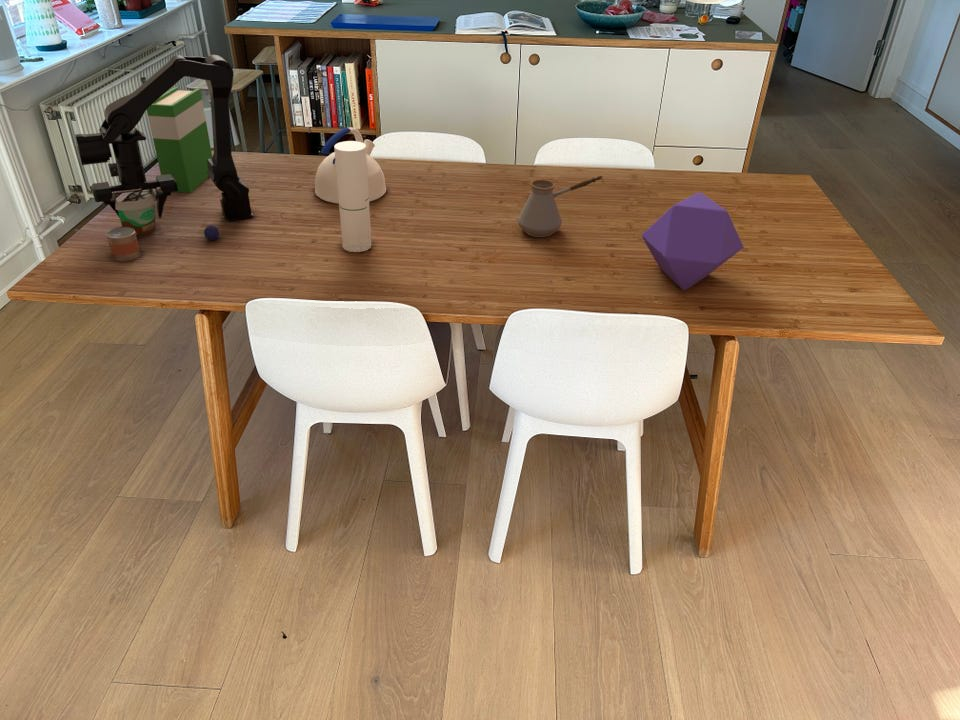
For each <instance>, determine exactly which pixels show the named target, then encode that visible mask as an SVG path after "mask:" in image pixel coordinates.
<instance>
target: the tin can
mask: <svg viewBox="0 0 960 720" xmlns="http://www.w3.org/2000/svg"><path fill="white" fill-rule="evenodd" d="M106 238H107V242H108V246H109V249H110V252H111V255H112V258H113V260H114V261H116V262H129V261H133V260H136V259H138V258H139V257H140V256H141V250H140V246H139V240H138V237H136V234H135V230H134V229H133V228H129V227H122V226H121V227H116V228H112V229H110V230H108V231H107V233H106Z"/></svg>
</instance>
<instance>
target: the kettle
mask: <svg viewBox="0 0 960 720" xmlns="http://www.w3.org/2000/svg"><path fill="white" fill-rule="evenodd" d="M349 133H352V134H353V136H354V139H355V141H357V142H362V143H364V144H365V145H366V157H367V174H368V192H369V203H370V202H373V201H376V200H378V199H380V198H382V197H383V196H384V195H385V193H386V192H387V187H386V180H385V179H386V178H385V174H384V172H383V170H382V167H381V166H380V164H379V163H378V162H377V161H376V160H375V158H373V157H372V156H371V154H372V151H373V150H374V148H375V147H376V145H375V143H374V142H373V141H372V140H370V139H368V138H367V139H364V138H363V136H362V134H361V132H360V131H359V130H358V129H357V128H354V127H343V128H342V129H340V130H339V131H337V132H336V133H334V134H333V135H332V136H331V137H329V139H328V140H327V141H326V142H325V144H324V145H323V147H322V148H321V151H320V154H321V155H328V154H329V155H328V156H327V157H325V158H324V159H323V160H322V161H321V163H320V164H319V166H318V167H317V170H316V173H315V177H314V193H315V195H316V196H317V197H318V198H319V199H320V200H323V201H325V202H327V203H331V204H336V205H339V198H338V186H337V174H336V161H335V151H334V152H331V153H329V152H330V150H331V149H332V148H333V146H335V144H336V143H337V142H338V141H339V140H340V139H341V138H342V137H344V136H345V135H348V134H349Z"/></svg>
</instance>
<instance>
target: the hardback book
mask: <svg viewBox="0 0 960 720" xmlns="http://www.w3.org/2000/svg"><path fill="white" fill-rule="evenodd" d="M201 90H202V89H201V88H195V89H193V90H180V89H179V87H178V86H173V87H171V88H170V89H169V90H168V91H167V92H166V93H164V94H163V95H162V96H161V97H160V98H159V99H158V100H156V101H155V102H154V103H153V104H152V105H151V106H149V107H148V108H147V110H146V114H147V118H148V123H149V127H150V132H151V136H152V141H153V145H154V150H155V154H156V159H157V163H158V166H159V167H158V168H159V173H160V175H165V174H171V175H172V176H173V177H174V179H175V181H176V183H177V188H178V191H176V192H175V193H186V194H191V193H192V192H193V191H195V189H196V188H198V187H199V186H200V185H201V184H202V183H203V182H204V181H205V180H206V179H207V178H210V177H209V176H208V174H207V171H208V164H207V160H206V159H212V157H213V152H212V146H211V142H210V141H211V140H210V136H209V129H208V125H207V118H206V114H205V108H204V101H203V96H202V91H201Z"/></svg>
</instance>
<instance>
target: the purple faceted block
mask: <svg viewBox="0 0 960 720" xmlns="http://www.w3.org/2000/svg"><path fill="white" fill-rule="evenodd" d="M641 238H642V240H643V241H644V244H645V245H646V246H647V248H648V250H649V252H650V254H651V255H652V257H653V259H654V261H655V262H656V264H657V267H658V268H659V269H660V270H661V271H662V272H663V273H664V274H665V275H666V276H667V277H668V278H669V279H671V280H672V281H673V282H674V283H675V284H676V285H677V286H678V287H680V289H681V290H682V291H686V290H688V289H690V288H691V287H692V286H694V285H696V284H697V283H698V282H700V281H702V280H704V278H706V277H708V276H709V275H710V274H712V273H713V272H715V271H716V270H717V269H718V268H719V267H721V266H722V265H723V264H725V263H726V262H727V261H728V260H730V259H731V258H733V257H734V256H735V255H736V254H738V253H739V252H740V251H742V250H743V249H744V244H743V242H742V240H741V238H740V236H739V234H738V231H737V229H736V227H735V225H734V223H733V220H732V218H731V216H730V214H729V212H728V210H726V209H725V208H723V207H722V206H721V205H719V204H718V203H717V202H715V201H714V200H713V199H710V198H709V197H708V196H707V195H705V194H704V193H702V192H701V191H698V192H696V193H694V194H693V195H690V196H689V197H686V198H684V199H683V200H681V201H678V202H677V203H675V204H673V205H671V207H670V208H668V210H667V211H665V212H664V213H663V214H662V215H661V216H660V217H658V219H657V220H655V222H654V223H653V224H652V225H651V226H649V228H647V229H646V230H645V231H644V232H643V233H642V234H641Z"/></svg>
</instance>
